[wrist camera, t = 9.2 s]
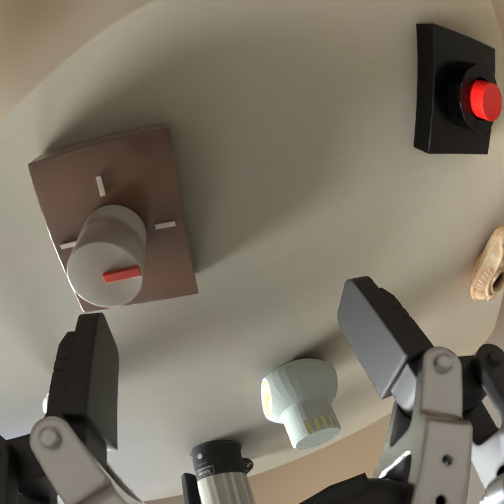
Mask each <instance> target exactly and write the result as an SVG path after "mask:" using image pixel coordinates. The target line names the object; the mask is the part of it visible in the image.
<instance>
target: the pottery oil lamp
mask: <svg viewBox="0 0 504 504" xmlns="http://www.w3.org/2000/svg"><path fill="white" fill-rule="evenodd" d="M503 287H504V225H502V226H500V227H498V228H496V229H495V230H494V232H493V233H492V235H491V237H490V239H489V241H488V243H487V245H486V247H485V249H484V251H483V252H481V253H480V255H479V256H478V257H477V259H476V262H475V264H474V267H473V274H472V279H471V287H470V295H471V296H472V298H473V299H475V300H481V299H487V300H488V301H490V300H492V299H493V298H494V297H495V296H496V294H497V292H499V291H500V290H501V289H502V288H503Z"/></svg>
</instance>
